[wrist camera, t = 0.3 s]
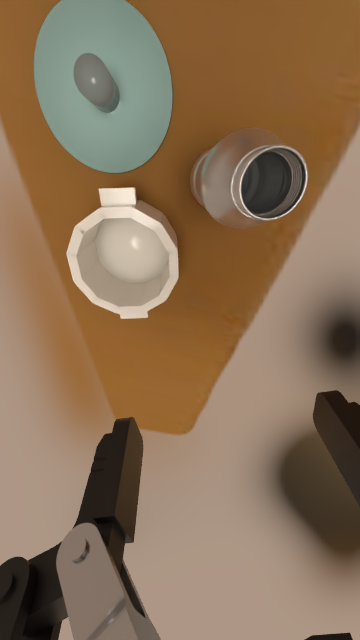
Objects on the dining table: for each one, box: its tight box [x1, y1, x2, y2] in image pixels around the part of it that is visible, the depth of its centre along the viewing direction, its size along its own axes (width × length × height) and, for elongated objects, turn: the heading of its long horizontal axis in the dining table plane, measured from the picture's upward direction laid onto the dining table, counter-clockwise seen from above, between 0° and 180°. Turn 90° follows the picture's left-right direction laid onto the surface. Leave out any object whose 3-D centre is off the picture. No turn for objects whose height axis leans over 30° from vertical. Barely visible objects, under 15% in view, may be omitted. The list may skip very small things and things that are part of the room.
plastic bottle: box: [190, 127, 308, 229], centre depth 21 cm, size 6×7×20 cm
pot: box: [66, 187, 179, 319], centre depth 31 cm, size 15×12×8 cm
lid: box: [34, 0, 172, 173], centre depth 24 cm, size 14×14×6 cm
